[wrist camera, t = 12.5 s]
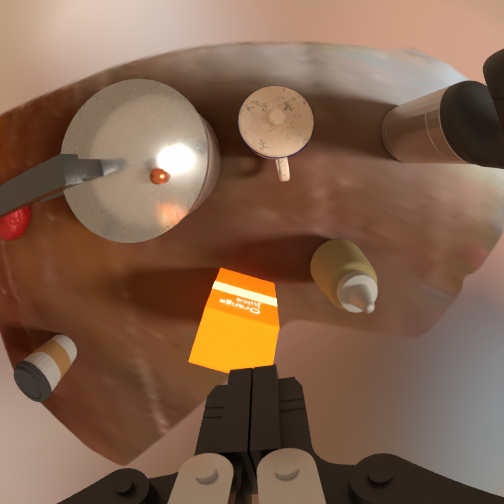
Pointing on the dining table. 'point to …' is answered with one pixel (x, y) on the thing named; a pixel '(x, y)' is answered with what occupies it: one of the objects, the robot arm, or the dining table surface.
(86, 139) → the cooker lid
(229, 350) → the orange juice
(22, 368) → the coffee cup
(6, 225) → the pomegranate
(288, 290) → the dining table surface
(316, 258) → the squeeze bottle
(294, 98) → the teacup with lid
